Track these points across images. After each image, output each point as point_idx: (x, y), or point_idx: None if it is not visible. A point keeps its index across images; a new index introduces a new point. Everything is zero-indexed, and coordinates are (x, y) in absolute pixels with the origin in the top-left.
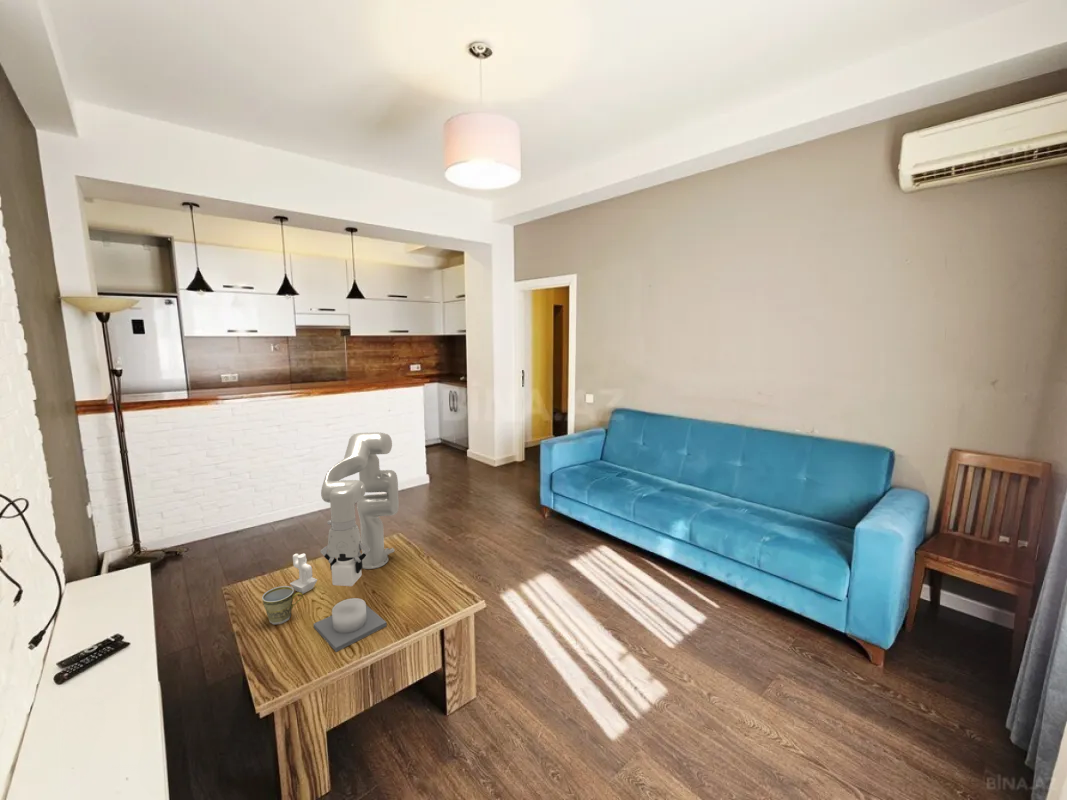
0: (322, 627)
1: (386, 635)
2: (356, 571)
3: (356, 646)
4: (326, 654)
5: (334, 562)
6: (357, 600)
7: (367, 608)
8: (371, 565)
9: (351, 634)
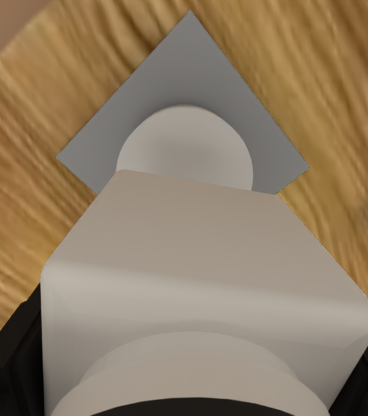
0: (273, 143)
1: (40, 102)
2: None
3: (125, 44)
4: (222, 2)
5: (348, 395)
6: None
7: None
8: None
9: (157, 94)
